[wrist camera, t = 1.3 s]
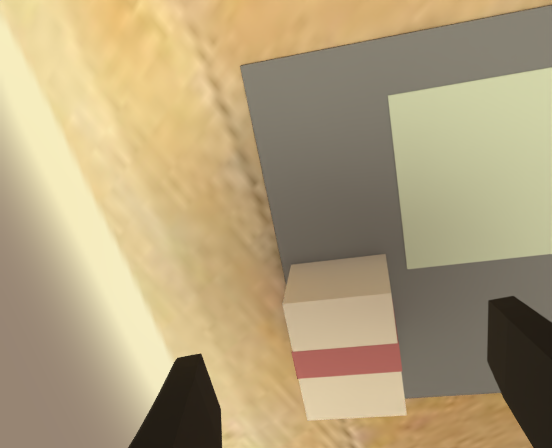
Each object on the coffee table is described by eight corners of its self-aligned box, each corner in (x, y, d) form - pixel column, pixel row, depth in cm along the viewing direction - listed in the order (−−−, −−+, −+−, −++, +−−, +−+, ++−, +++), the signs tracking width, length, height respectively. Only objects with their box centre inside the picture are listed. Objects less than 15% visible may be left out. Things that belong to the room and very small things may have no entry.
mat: (597, 381, 28) (601, 387, 28) (311, 399, 31) (311, 405, 31) (613, -8, 21) (619, -8, 21) (241, 65, 24) (239, 66, 24)
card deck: (400, 363, 29) (407, 415, 25) (311, 370, 30) (306, 421, 26) (386, 253, 27) (392, 293, 23) (290, 264, 28) (281, 304, 24)
